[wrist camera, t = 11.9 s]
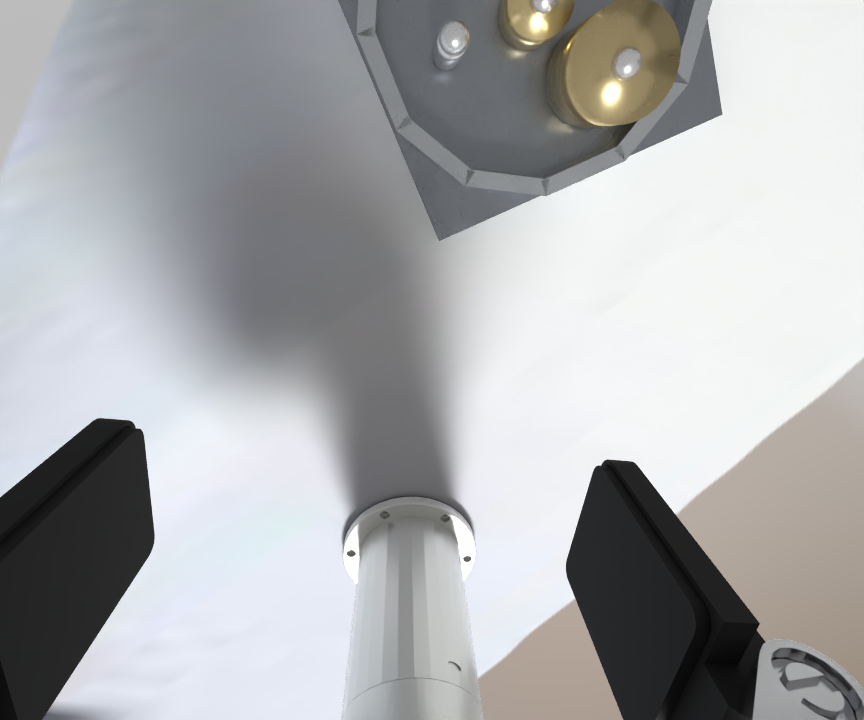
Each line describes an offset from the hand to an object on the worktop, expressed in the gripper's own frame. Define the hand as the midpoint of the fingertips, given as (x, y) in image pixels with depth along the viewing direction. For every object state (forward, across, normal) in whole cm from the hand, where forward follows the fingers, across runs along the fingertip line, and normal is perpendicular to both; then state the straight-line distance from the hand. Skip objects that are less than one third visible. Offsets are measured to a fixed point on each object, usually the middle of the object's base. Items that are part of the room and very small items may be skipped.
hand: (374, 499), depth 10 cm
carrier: (+27, -6, -16) cm, 32 cm away
